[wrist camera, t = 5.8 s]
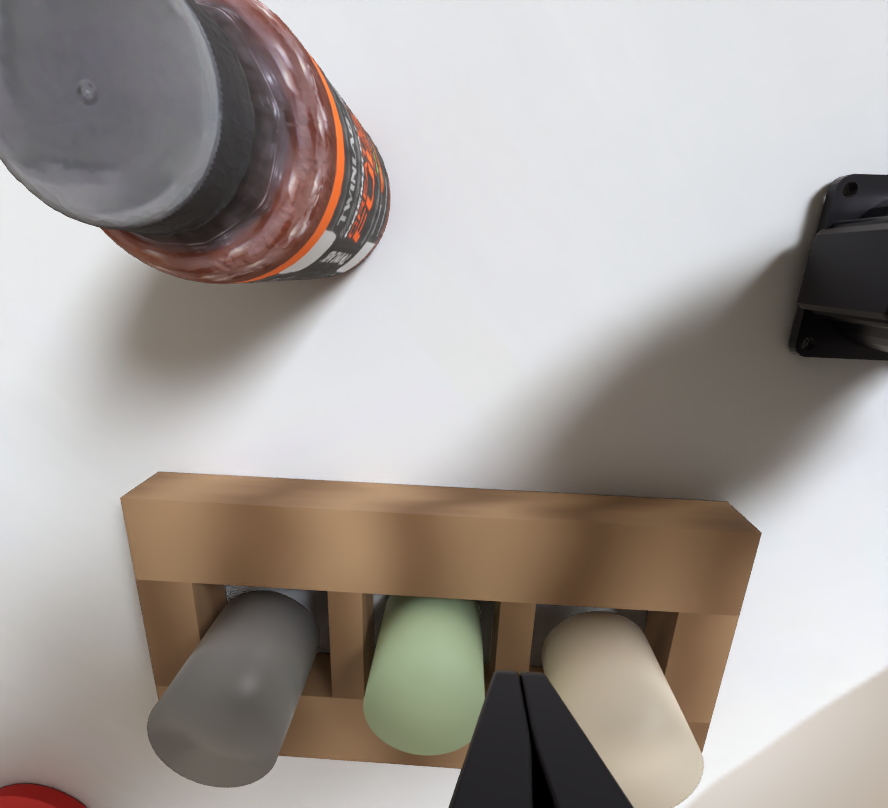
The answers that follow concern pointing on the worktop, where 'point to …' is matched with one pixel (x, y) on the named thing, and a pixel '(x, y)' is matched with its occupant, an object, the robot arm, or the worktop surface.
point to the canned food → (36, 797)
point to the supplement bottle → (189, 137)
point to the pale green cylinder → (426, 675)
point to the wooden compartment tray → (434, 578)
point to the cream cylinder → (624, 706)
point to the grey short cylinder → (237, 692)
